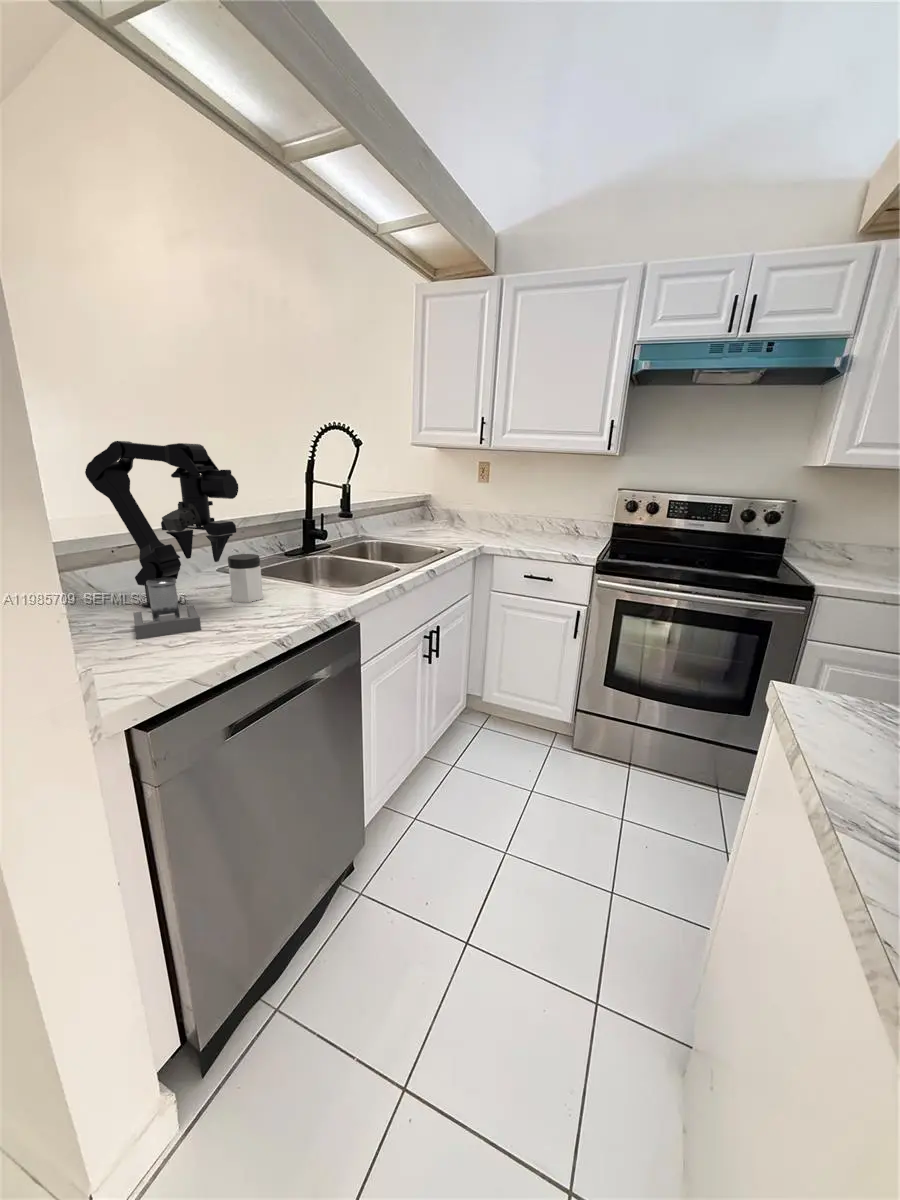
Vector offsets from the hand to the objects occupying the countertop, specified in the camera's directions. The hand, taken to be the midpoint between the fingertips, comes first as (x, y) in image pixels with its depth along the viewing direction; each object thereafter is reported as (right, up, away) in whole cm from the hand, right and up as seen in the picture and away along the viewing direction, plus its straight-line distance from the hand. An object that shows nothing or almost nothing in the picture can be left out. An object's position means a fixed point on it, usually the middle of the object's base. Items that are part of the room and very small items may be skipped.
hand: (202, 560), depth 125 cm
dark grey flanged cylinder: (-3, -16, -10) cm, 19 cm away
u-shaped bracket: (-3, -16, -10) cm, 19 cm away
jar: (+6, -10, +14) cm, 18 cm away
